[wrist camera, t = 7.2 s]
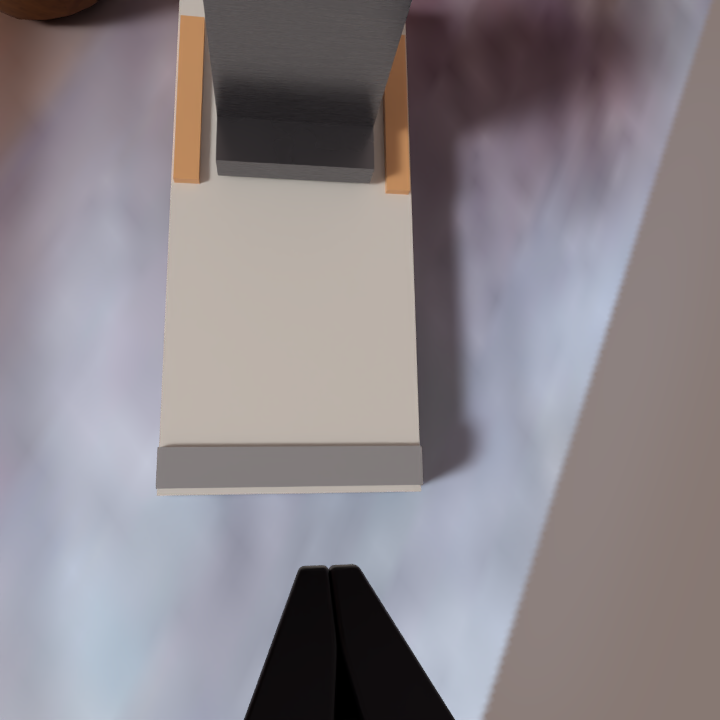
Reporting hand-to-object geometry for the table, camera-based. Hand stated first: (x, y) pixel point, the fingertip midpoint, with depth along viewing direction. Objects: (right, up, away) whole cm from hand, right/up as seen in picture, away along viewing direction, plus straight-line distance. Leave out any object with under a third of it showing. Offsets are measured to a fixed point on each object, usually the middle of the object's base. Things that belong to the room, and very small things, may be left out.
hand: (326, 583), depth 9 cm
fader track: (-2, +8, +14) cm, 16 cm away
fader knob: (-2, +12, +13) cm, 18 cm away
